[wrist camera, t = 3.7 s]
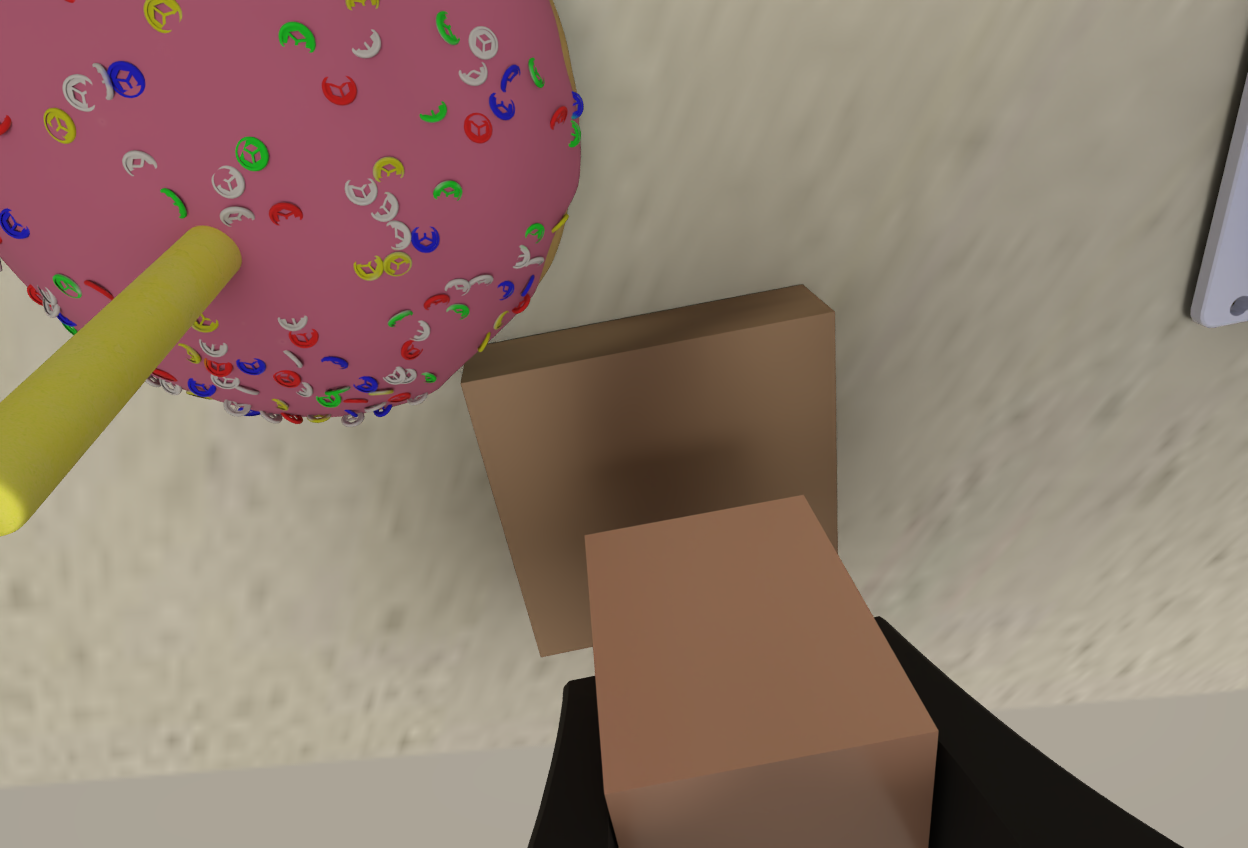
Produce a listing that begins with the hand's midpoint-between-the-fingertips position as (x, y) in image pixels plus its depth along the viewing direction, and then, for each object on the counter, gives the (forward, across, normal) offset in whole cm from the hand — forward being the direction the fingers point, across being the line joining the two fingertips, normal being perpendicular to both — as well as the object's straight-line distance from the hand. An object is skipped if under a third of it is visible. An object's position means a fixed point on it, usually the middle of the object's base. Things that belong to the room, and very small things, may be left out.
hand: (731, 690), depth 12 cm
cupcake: (+8, +5, -9) cm, 13 cm away
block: (+2, 0, 0) cm, 2 cm away
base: (+8, 0, 0) cm, 8 cm away
